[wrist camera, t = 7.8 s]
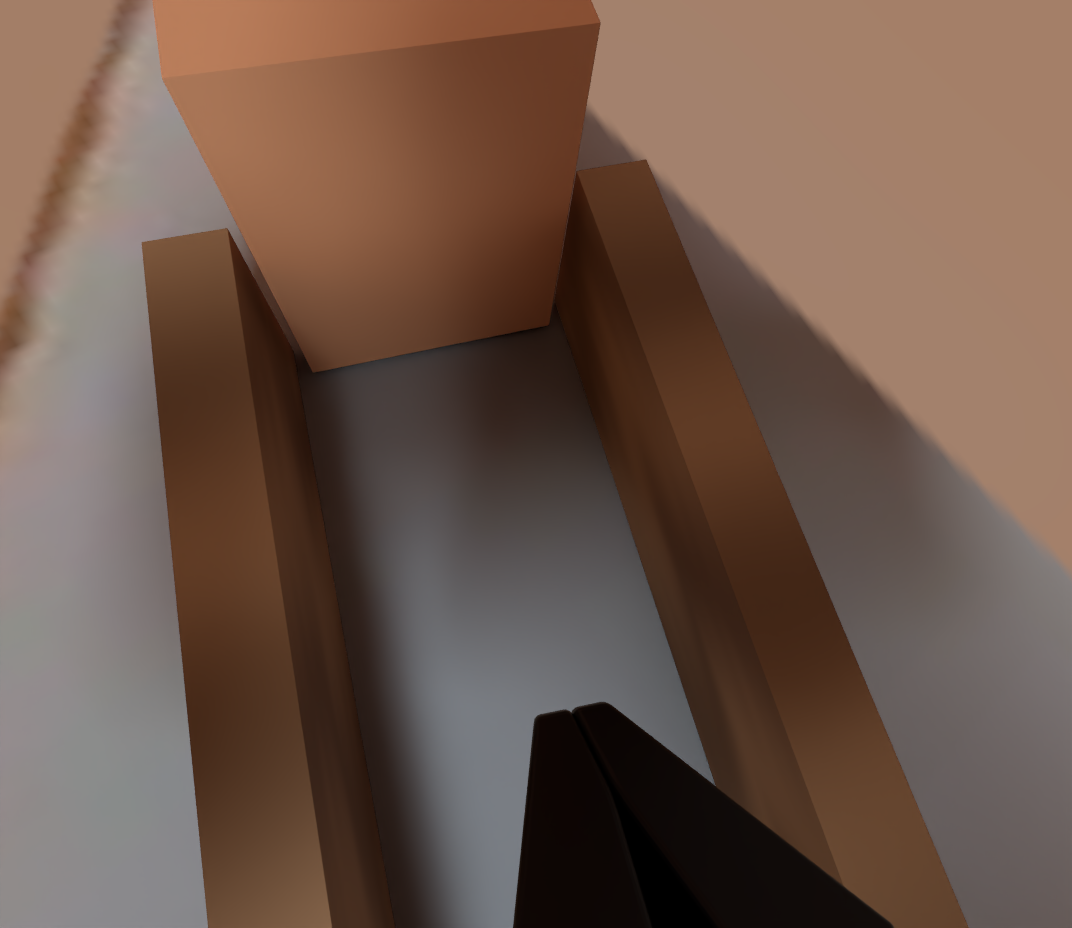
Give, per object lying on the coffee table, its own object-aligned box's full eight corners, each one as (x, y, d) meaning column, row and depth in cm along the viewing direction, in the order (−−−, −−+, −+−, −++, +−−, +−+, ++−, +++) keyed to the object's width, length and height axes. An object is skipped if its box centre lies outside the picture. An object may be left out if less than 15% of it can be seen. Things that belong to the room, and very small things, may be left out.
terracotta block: (549, 325, 17) (600, 22, 9) (313, 372, 16) (161, 78, 8) (491, 148, 19) (496, -220, 11) (277, 181, 18) (128, -197, 10)
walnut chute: (905, 1103, 12) (1132, 1318, 8) (368, 1339, 10) (290, 1766, 6) (607, 289, 18) (646, 160, 13) (230, 363, 16) (141, 242, 12)
